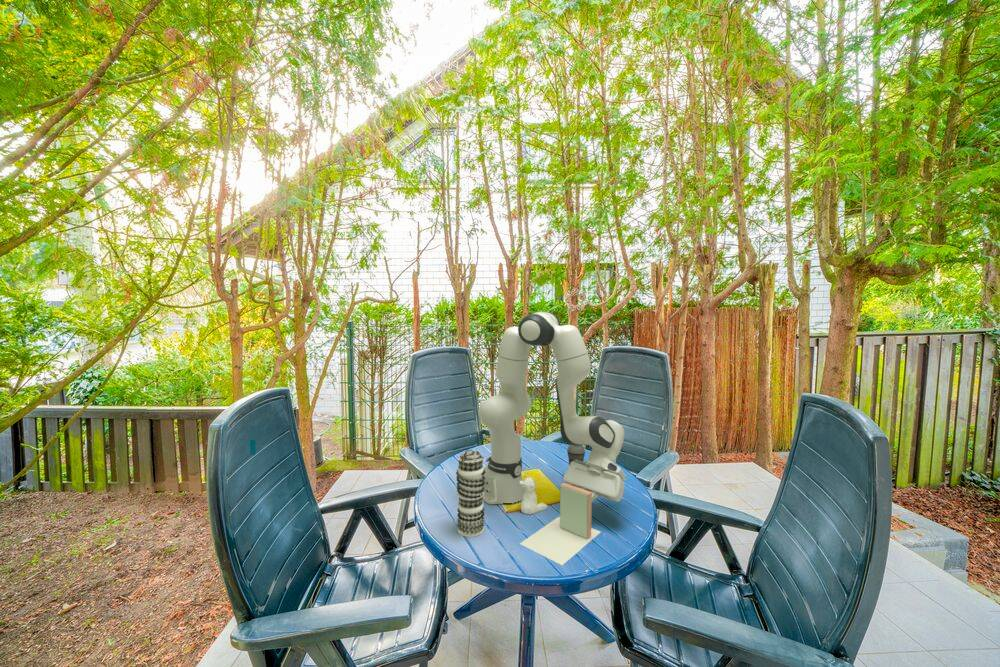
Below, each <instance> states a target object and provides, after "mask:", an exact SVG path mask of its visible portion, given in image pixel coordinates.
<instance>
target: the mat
mask: <svg viewBox="0 0 1000 667" xmlns="http://www.w3.org/2000/svg"><path fill="white" fill-rule="evenodd" d="M601 533H602V532H601V531H600V530H597V529H595V528H593V527H591V537H590V538H589V539H585V538H583V537H581V536H579V535H576V534H574V533H572V532H569V531H567V530H565V529H562V528H560V515H559V516H557V517H556V518H554V519H553V520H552V521H550V522H549V523H548V524H546V525H544V526H543V527H542V528H540V529H538V530H537V531H536V532H534V533H533V534H531V535H530V536H528V537H527V538H526V539H524V540H523V541H521V542H519V545H521V546H523V547H525V548H527V549H529V550H530V551H532V552H535V553H536V554H539V555H541V556H543V557H544V558H547V559H549V560H550V561H553V562H554V563H557V564H558V565H560V566H564V565H565V564H566V563H567V562H568V561H569V560H570V559H572V558H573V557H574V556H576V554H577V553H578V552H580V551H581V550H582V549H583V548H584V547H585V546H587V545H588V544H589V543H591V542H592V541H593V539H595V538H596V537H597V536H598V535H599V534H601Z"/></svg>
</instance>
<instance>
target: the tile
mask: <svg viewBox="0 0 1000 667" xmlns="http://www.w3.org/2000/svg"><path fill="white" fill-rule="evenodd" d="M559 486H560V490H559V493H560V494H559V496H560V497H559V516H560V528H562V529H565V530H567V531H569V532H572V533H574V534H576V535H579V536H581V537H583V538H585V539H589V538H590V537H591V528H592V508H593V506H592V505H593V504H592V503H593V501H592V492H590V491H587V490H584V489H581V488H578V487H575V486H572V485H569V484H566V483H565V482H563V483H560V485H559Z"/></svg>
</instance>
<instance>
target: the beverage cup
mask: <svg viewBox="0 0 1000 667" xmlns="http://www.w3.org/2000/svg"><path fill="white" fill-rule="evenodd" d="M585 450H586V449H585V445H569V444H568V447H567V450H566V452H567V457H568V466H569V465H570V463H571V462H572V461H574V460H580V461H584V459H585V456H586V455H585V454H586V451H585Z"/></svg>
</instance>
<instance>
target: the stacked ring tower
mask: <svg viewBox="0 0 1000 667" xmlns="http://www.w3.org/2000/svg"><path fill="white" fill-rule="evenodd" d="M484 458H485V456H484V455H483V454H481V452H480V451H478V450H474V449H472V450H471V449H470V450H465V451H463V452H462V453H461V454H460V455H458V457H457V459H458V467H457V469H456V472H455V474H456V482H457V483H456V492H457V493H456V494H457V497H458V507H457V517H458V518H457V532H458V534H459V535H460V534H461V535H460V536H463V537H466V538H475V537H478V536H480V535H482V534H483V533H484V532H485V517H484V516H485V512H484V511H485V507H484V501H483V496H484V490H485V488H484V487H483V486H484V484H485V482H484V479H485V477H484V476H483V475H484V474H485V470H484V465H483V463H484V461H483V459H484Z"/></svg>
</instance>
